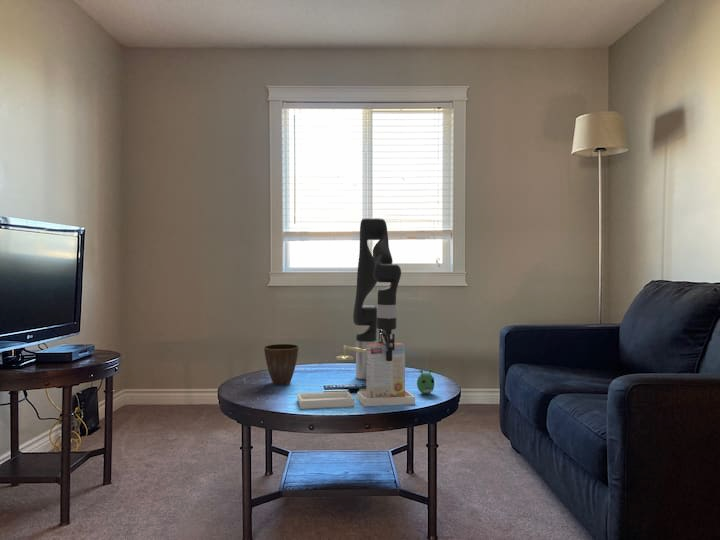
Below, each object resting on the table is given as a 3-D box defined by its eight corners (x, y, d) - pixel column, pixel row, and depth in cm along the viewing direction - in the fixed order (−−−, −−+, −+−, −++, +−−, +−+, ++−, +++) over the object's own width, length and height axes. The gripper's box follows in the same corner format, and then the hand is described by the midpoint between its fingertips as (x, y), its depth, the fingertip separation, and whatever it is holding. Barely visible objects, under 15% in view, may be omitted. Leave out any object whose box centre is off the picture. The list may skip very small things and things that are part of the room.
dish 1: (297, 400, 197) (297, 393, 197) (348, 398, 202) (348, 391, 202) (300, 408, 186) (300, 401, 186) (354, 406, 190) (354, 398, 190)
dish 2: (357, 398, 201) (357, 391, 201) (405, 396, 206) (405, 389, 205) (363, 406, 190) (363, 399, 190) (415, 404, 194) (415, 396, 194)
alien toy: (420, 396, 205) (421, 371, 205) (414, 392, 213) (414, 367, 213) (437, 396, 207) (437, 371, 207) (430, 391, 214) (430, 367, 214)
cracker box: (399, 395, 203) (399, 341, 203) (405, 399, 197) (406, 344, 197) (365, 397, 199) (365, 343, 199) (370, 401, 193) (371, 345, 193)
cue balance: (334, 393, 209) (334, 344, 209) (397, 390, 215) (398, 343, 215) (337, 397, 202) (337, 347, 202) (402, 394, 208) (403, 345, 208)
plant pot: (274, 389, 215) (275, 350, 215) (257, 382, 227) (257, 346, 227) (305, 384, 225) (305, 347, 225) (286, 378, 236) (287, 343, 236)
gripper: (372, 314, 204) (372, 356, 204) (381, 318, 190) (381, 362, 190) (391, 314, 205) (390, 355, 205) (401, 318, 191) (401, 362, 191)
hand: (386, 358), depth 198 cm, fingers open, 8 cm apart
